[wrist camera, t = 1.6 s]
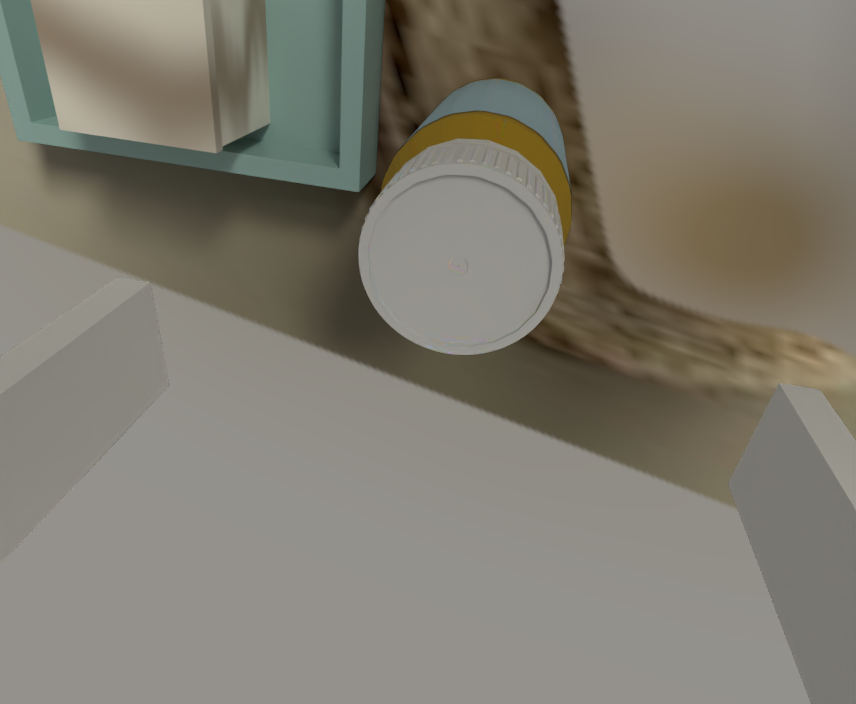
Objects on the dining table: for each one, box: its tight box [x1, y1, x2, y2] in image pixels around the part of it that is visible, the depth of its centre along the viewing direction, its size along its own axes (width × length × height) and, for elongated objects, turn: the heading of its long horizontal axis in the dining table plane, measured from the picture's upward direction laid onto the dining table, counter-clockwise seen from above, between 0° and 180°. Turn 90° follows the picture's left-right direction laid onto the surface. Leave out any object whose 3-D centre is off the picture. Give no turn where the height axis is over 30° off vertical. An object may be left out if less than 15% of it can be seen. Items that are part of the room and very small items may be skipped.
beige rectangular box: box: [30, 0, 270, 153], centre depth 26 cm, size 6×7×6 cm
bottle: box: [358, 78, 572, 355], centre depth 24 cm, size 7×7×15 cm
